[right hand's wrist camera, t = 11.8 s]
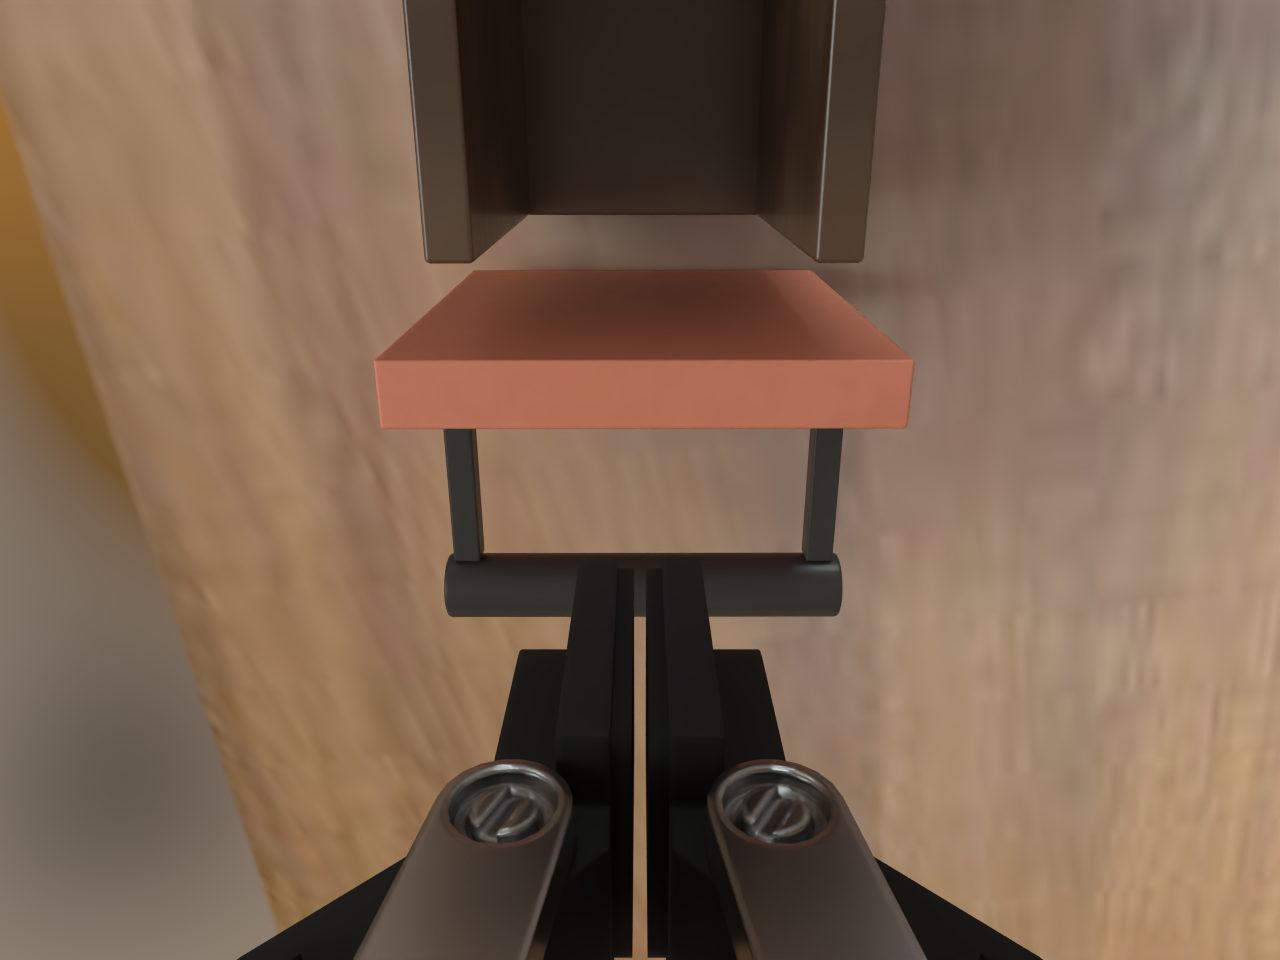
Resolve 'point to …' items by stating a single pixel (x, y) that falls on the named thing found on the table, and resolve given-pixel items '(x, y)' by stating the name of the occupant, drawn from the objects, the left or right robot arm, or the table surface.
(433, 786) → the table surface
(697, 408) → the drawer
